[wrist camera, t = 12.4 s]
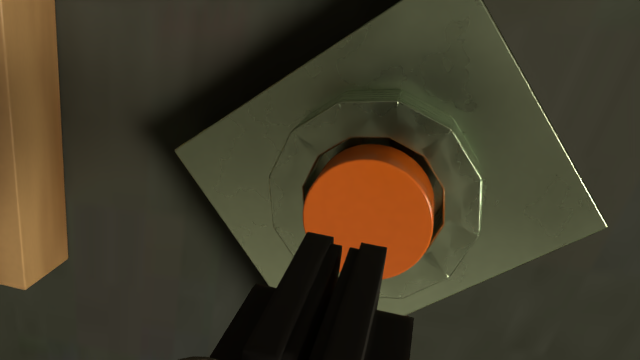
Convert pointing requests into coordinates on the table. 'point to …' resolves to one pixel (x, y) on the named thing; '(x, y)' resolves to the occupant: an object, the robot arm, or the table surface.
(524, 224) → the button box
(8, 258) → the light wood flat block
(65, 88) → the table surface
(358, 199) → the button
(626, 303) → the table surface
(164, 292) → the table surface
